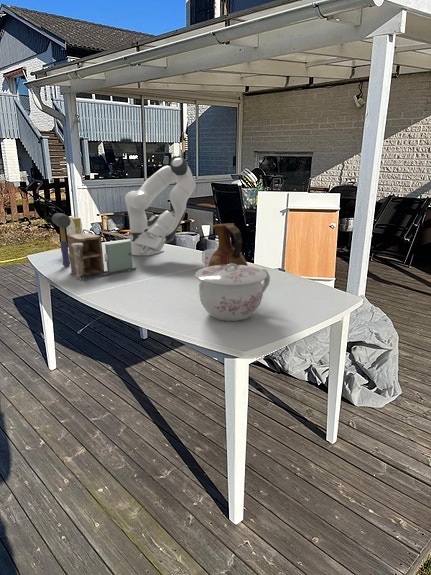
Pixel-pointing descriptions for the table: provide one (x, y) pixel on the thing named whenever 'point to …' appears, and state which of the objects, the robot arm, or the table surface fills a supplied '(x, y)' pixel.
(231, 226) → the ceramic pitcher
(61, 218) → the rubber mallet
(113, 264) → the cabinet door
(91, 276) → the door track
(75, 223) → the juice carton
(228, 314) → the chamber pot
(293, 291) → the table surface
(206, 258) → the mug
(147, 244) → the robot arm
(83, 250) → the walnut cabinet
